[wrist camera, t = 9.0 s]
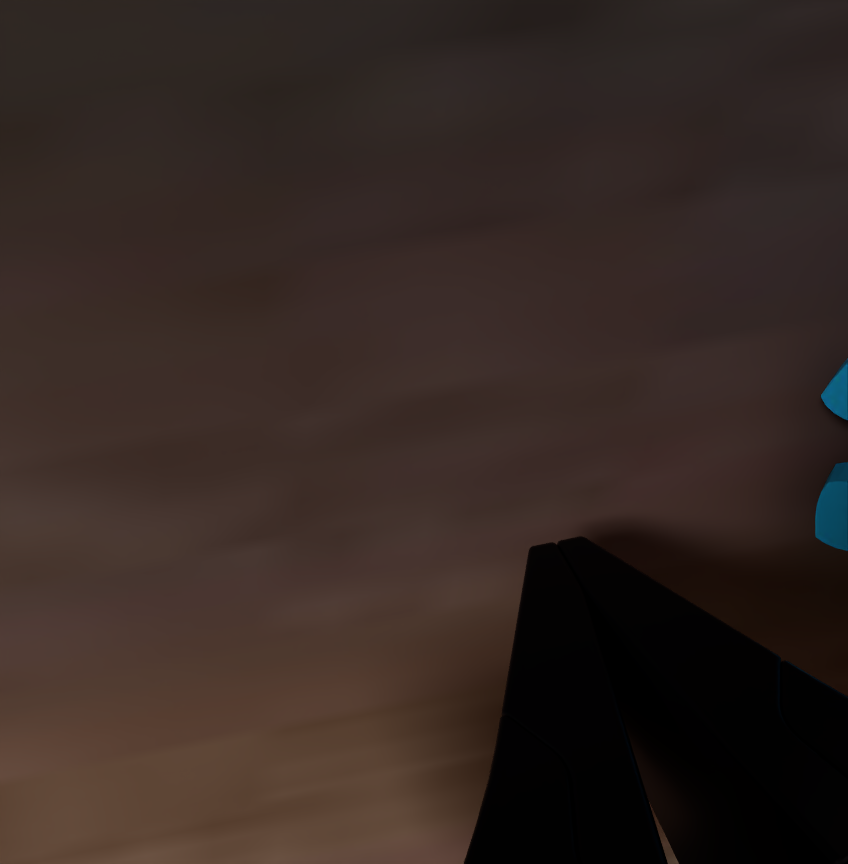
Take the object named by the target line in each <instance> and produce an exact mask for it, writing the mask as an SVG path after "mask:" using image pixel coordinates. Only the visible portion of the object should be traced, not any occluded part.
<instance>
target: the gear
mask: <svg viewBox="0 0 848 864" xmlns="http://www.w3.org/2000/svg"><path fill="white" fill-rule="evenodd" d="M821 398H822V399H823V401H824V403H825V405H826V406H827V407H828V408H829V409H830V410H831V411H832V412H833V413H835V414H837V415H838V416H840V417H842V418H843V419H846V420H848V358H847V360H846V361H845V362H844V363H843V364H842V366H841V367H840V368H839V370H838V371H837V373H836V374H835V375H834V377H833V378H832V380H831V381H830V382H829V384H828V385H827V387H826V389H825V390H824V392H823V393H822V395H821ZM815 534H816V538H818V539H819V540H821V541H822V542H824V543H825V544H828V545H830V546H832V547H835V548H838V549H842V550H846V551H848V462H844V463H838V464H836V465H835V466H834V468H833V470H832V471H831V473H830V474H829V477H828V479H827V481H826V483H825V485H824V487H823V490H822V492H821V494H820V497H819V500H818V503H817V508H816V517H815Z"/></svg>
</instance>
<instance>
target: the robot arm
mask: <svg viewBox="0 0 848 864" xmlns="http://www.w3.org/2000/svg"><path fill="white" fill-rule="evenodd" d="M647 797H648V798H647ZM648 800H649V801H648ZM649 802H650V804H651V806H652V808H653V810H654V812H655V814H656V816H657V818H658V820H659V823H660V825H661V827H662V829H663V831H664V833H665V835H666V837H667V839H668V841H669V844H670V846H671V848H672V850H673V852H674V854H675V856H676V858H677V860H678V862H679V864H848V697H847V696H845V695H844V694H842V693H840V692H838V691H837V690H835V689H833V688H832V687H830V686H828V685H826V684H825V683H823V682H821V681H820V680H818V679H816V678H815V677H813V676H811V675H810V674H808V673H806V672H805V671H803V670H801V669H800V668H798V667H797V666H795V665H793V664H792V663H790V662H788V661H786V660H784V661H782V663H781V658H780V657H779V656H778V655H776V654H775V653H773V652H772V651H770V650H768V649H767V648H765V647H763V646H762V645H760V644H758V643H757V642H755V641H754V640H752V639H750V638H749V637H747V636H745V635H744V634H742V633H740V632H739V631H737V630H736V629H734V628H732V627H731V626H729V625H727V624H726V623H724V622H722V621H721V620H719V619H718V618H716V617H714V616H713V615H711V614H709V613H708V612H706V611H704V610H703V609H701V608H700V607H698V606H696V605H695V604H693V603H691V602H690V601H688V600H686V599H685V598H683V597H682V596H680V595H678V594H677V593H675V592H673V591H672V590H670V589H669V588H667V587H665V586H664V585H662V584H660V583H659V582H657V581H655V580H654V579H652V578H651V577H649V576H647V575H646V574H644V573H642V572H641V571H639V570H637V569H636V568H634V567H633V566H631V565H629V564H628V563H626V562H624V561H623V560H621V559H619V558H618V557H616V556H615V555H613V554H611V553H610V552H608V551H606V550H605V549H603V548H601V547H600V546H598V545H597V544H595V543H593V542H592V541H590V540H588V539H587V538H585V537H575V538H570V539H565V540H561V541H559V542H558V543H557V545H556V544H555V543H553V542H551V543H546V544H541V545H536V546H532V547H531V548H530V549H529V553H528V559H527V564H526V570H525V576H524V582H523V588H522V594H521V600H520V606H519V612H518V618H517V624H516V630H515V636H514V642H513V648H512V654H511V660H510V666H509V672H508V678H507V684H506V690H505V696H504V702H503V708H502V717H501V718H500V723H499V729H498V735H497V741H496V746H495V751H494V756H493V761H492V765H491V770H490V775H489V780H488V784H487V787H486V791H485V794H484V798H483V802H482V805H481V809H480V812H479V816H478V820H477V823H476V827H475V830H474V833H473V836H472V839H471V842H470V845H469V849H468V852H467V855H466V858H465V861H464V864H668V863H667V860H666V856H665V853H664V850H663V847H662V843H661V840H660V837H659V834H658V830H657V827H656V824H655V821H654V817H653V814H652V811H651V808H650V804H649Z"/></svg>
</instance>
